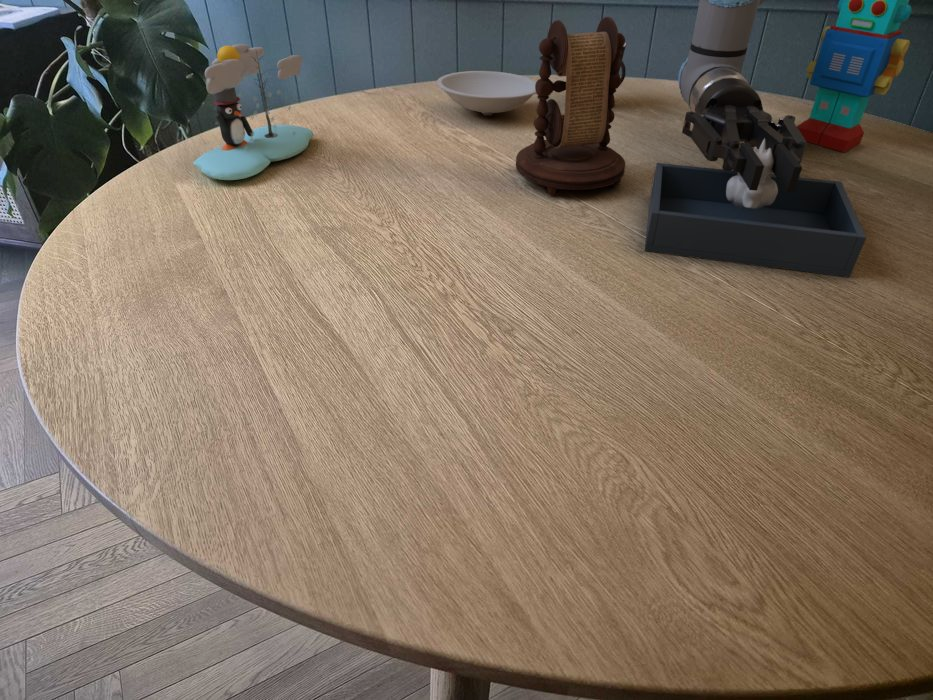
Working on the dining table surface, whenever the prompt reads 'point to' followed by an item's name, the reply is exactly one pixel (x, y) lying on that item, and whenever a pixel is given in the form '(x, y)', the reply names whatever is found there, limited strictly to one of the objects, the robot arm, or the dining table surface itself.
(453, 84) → the dish
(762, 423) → the dining table surface
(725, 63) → the robot arm
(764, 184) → the white figurine
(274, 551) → the dining table surface
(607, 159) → the scroll
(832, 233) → the bin
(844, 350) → the dining table surface
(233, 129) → the penguin figurine
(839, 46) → the toy robot
